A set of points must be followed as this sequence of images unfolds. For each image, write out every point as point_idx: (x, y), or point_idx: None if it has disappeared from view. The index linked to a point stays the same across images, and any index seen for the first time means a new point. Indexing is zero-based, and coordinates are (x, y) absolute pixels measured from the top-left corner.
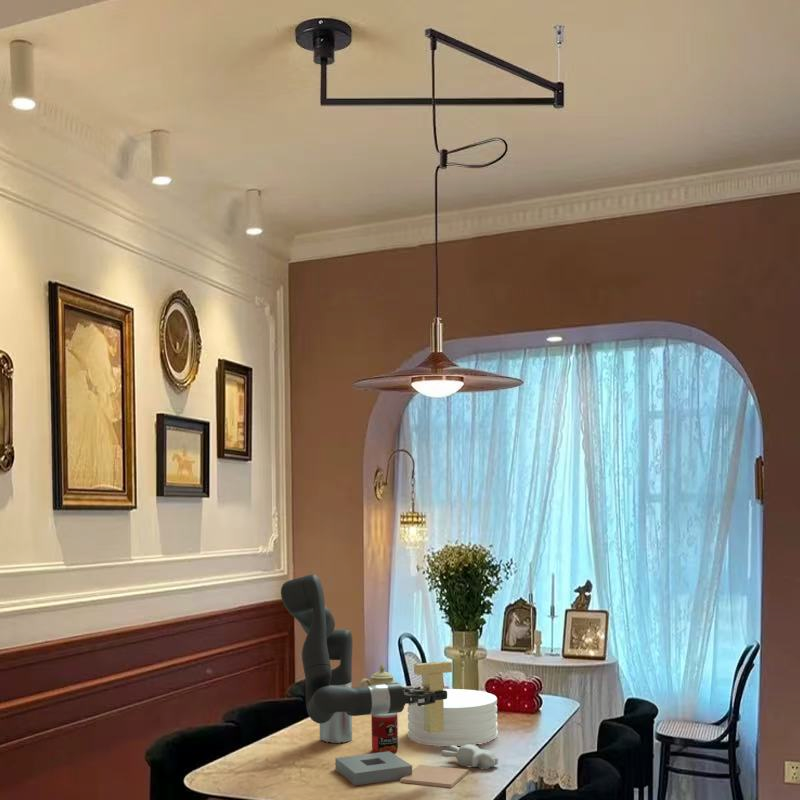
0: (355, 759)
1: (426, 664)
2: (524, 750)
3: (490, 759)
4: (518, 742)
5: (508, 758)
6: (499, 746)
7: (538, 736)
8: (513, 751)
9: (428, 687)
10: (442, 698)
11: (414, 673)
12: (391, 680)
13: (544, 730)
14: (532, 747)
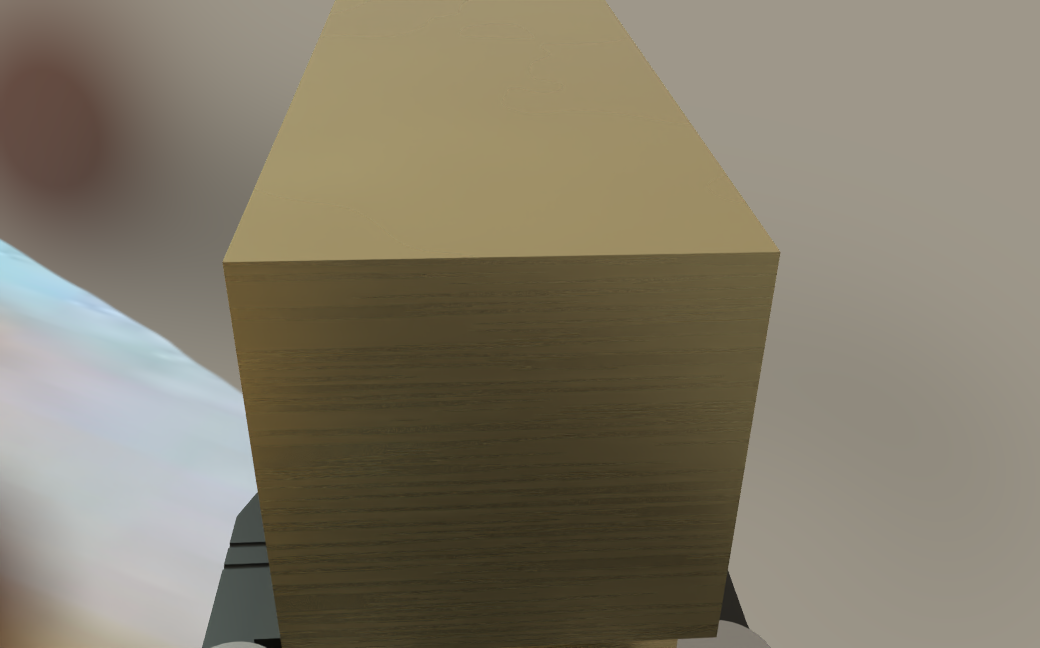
0: None
1: (627, 83)
2: (218, 424)
3: None
4: (71, 397)
5: None
6: (55, 480)
7: (61, 317)
8: (196, 464)
9: (608, 643)
10: None
11: (332, 646)
12: None
13: (3, 278)
14: (198, 386)
